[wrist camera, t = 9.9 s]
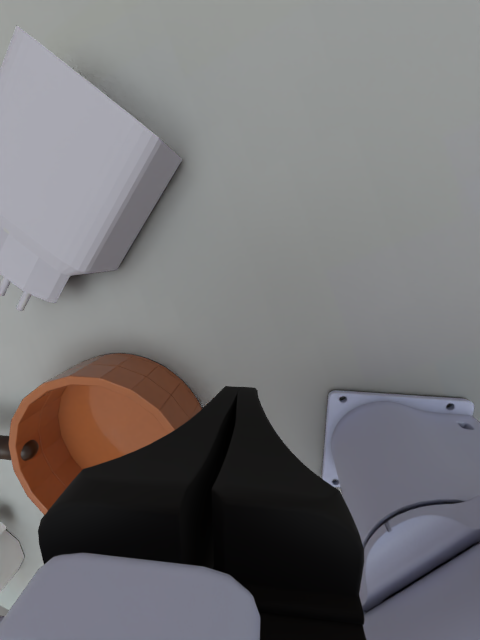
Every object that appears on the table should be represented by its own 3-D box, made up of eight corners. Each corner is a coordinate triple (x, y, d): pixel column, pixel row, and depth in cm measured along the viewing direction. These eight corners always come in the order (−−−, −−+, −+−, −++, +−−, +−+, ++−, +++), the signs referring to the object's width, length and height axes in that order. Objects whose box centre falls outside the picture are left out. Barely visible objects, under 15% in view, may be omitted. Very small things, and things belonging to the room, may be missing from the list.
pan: (206, 357, 22) (187, 383, 17) (210, 506, 25) (195, 559, 21) (44, 349, 24) (-9, 370, 19) (68, 487, 27) (27, 533, 22)
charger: (-10, 261, 22) (73, 72, 18) (84, 332, 23) (187, 162, 19) (-84, 263, 18) (5, 13, 14) (35, 352, 18) (156, 133, 14)
